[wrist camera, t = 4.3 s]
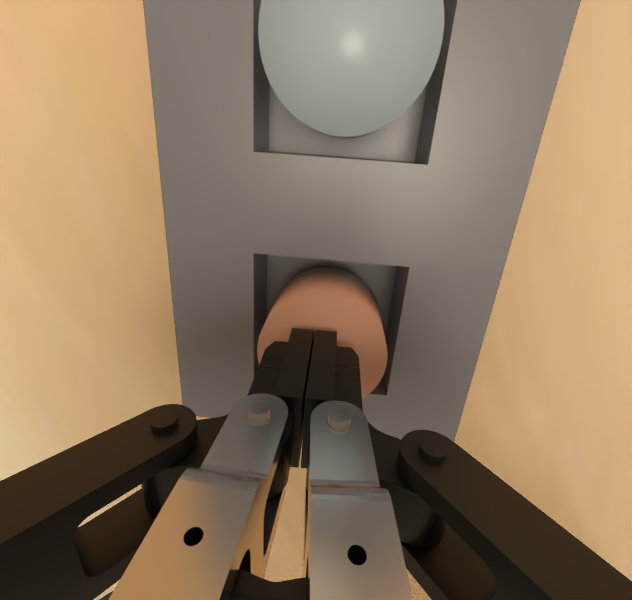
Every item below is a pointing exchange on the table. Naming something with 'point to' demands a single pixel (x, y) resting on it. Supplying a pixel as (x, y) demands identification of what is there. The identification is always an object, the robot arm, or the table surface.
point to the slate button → (349, 59)
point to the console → (347, 196)
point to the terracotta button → (331, 317)
